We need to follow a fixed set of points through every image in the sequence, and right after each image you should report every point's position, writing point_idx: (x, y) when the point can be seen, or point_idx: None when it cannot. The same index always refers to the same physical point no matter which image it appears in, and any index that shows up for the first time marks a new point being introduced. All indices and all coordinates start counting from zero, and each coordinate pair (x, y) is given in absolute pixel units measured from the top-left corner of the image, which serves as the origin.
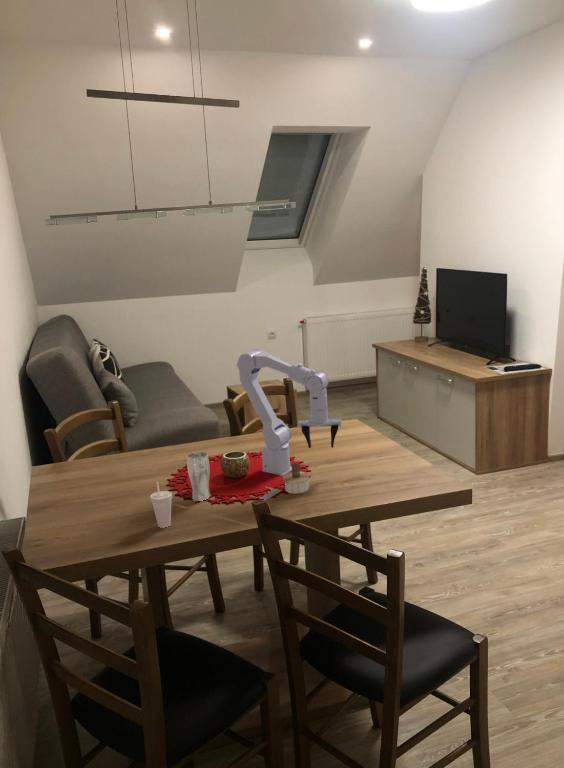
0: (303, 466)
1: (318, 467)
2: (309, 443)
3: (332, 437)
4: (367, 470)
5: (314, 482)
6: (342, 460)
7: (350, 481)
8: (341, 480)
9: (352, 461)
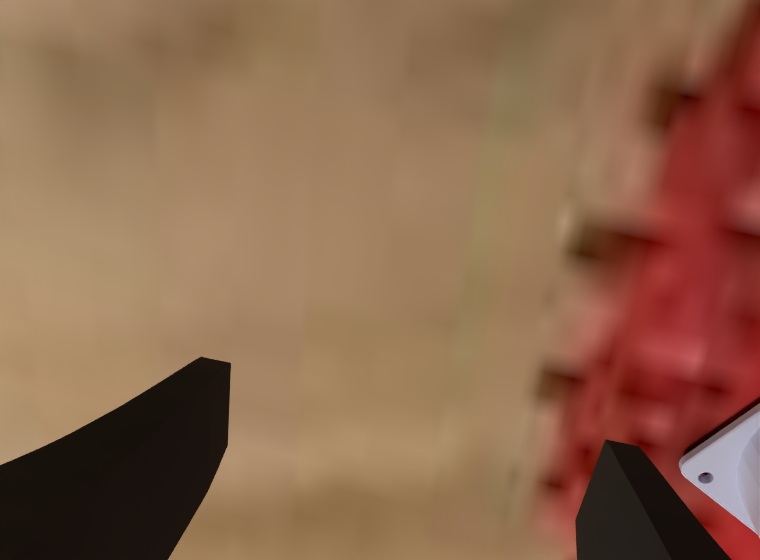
0: None
1: (453, 436)
2: (649, 495)
3: (83, 460)
4: (25, 264)
5: (559, 65)
6: (239, 514)
7: (166, 14)
8: (259, 64)
9: None
